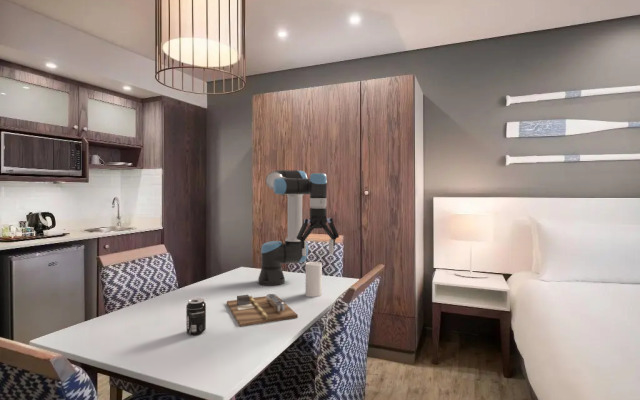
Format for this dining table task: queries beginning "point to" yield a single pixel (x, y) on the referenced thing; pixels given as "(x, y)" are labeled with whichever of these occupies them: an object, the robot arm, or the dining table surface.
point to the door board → (257, 310)
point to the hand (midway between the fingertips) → (318, 254)
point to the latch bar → (275, 302)
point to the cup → (313, 279)
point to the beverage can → (196, 316)
